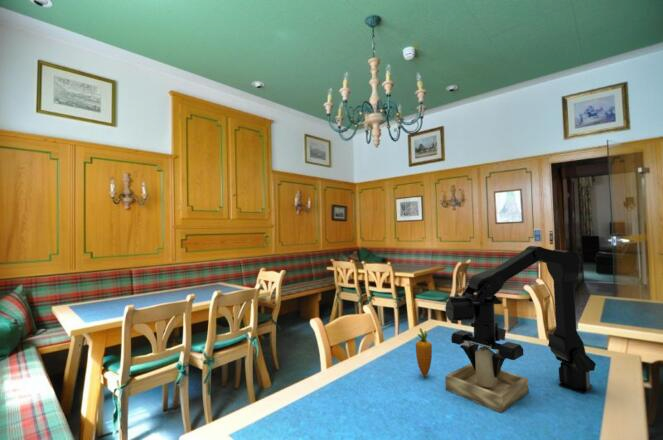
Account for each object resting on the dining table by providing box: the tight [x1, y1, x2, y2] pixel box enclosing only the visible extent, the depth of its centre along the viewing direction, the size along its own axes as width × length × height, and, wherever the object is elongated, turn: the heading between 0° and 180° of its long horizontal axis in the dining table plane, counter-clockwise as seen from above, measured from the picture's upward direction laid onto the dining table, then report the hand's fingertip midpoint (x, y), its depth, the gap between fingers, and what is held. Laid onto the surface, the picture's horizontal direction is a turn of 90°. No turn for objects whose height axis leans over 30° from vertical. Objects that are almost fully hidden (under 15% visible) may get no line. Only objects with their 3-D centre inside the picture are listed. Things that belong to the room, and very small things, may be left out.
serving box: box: [445, 362, 530, 414], centre depth 95 cm, size 16×16×4 cm
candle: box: [475, 346, 497, 387], centre depth 95 cm, size 6×6×10 cm
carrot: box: [415, 327, 433, 378], centre depth 105 cm, size 5×5×15 cm
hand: (486, 373), depth 95 cm, fingers closed on candle, 5 cm apart
